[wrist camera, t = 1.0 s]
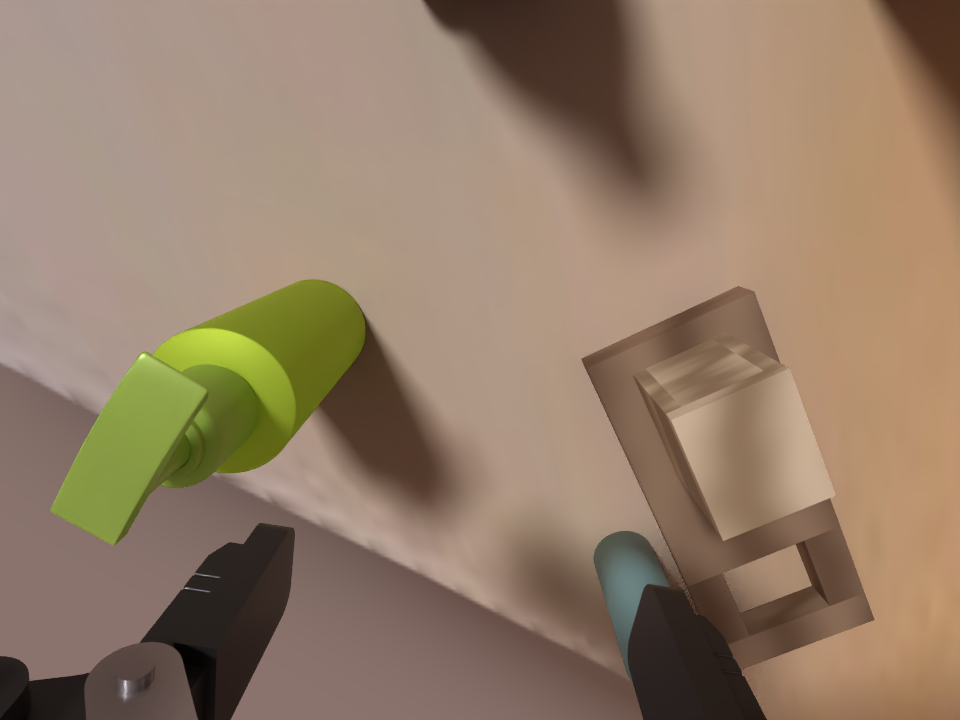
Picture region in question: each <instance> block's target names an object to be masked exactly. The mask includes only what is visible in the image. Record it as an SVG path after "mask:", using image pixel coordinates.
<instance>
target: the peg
mask: <svg viewBox="0 0 960 720" xmlns="http://www.w3.org/2000/svg"><path fill="white" fill-rule="evenodd" d="M594 564H595V568H596V571H597V574H598V578H599V581H600V584H601V588H602V591H603V594H604V598H605V601H606V604H607V608H608V611H609V614H610V618H611V621H612V625H613V628H614V631H615V635H616V638H617V641H618V645H619V648H620V651H621V655H622V658H623V661H624V665H625V668H626V671H627V674H628V676H629V678H630V679H631V680H632V678H631V674H630V671H629V666H628V641H629V637H630V633H631V630H632V626H633V623H634V619H635V616H636V613H637V609H638V606H639V602H640V599H641V595H642V592H643V589H644V587H645V586H646V585H647V584H653V585H660V586H666V587H671V586H670V584H669V582H668V580H667V578H666V576H665V574H664V572H663V569H662V567H661V565H660V563H659V561H658V559H657V557H656V555H655V553H654V551H653V549H652V546H651V545H650V543H649V542H648V540H647V539H646V538H644V537H643V536H642V535H640V534H638V533H635V532H630V531H620V532H616V533H613V534H610V535H608V536H607V537H605V538H604V539H603V540H602V541H601V542H600V543H599V544H598V546H597V548H596V550H595V553H594ZM632 682H633V681H632Z"/></svg>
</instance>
